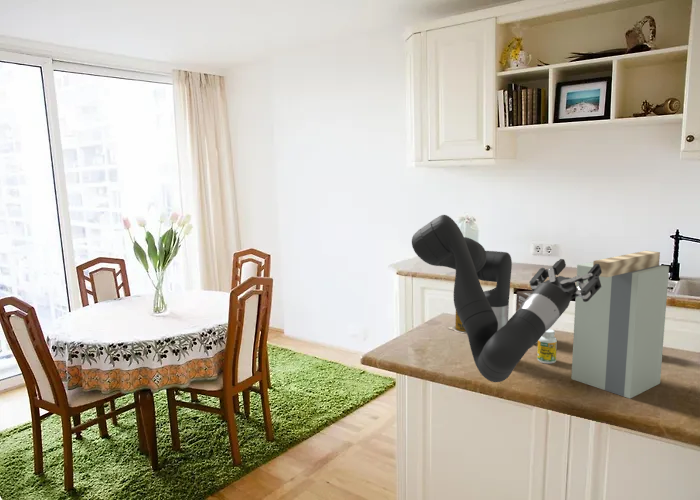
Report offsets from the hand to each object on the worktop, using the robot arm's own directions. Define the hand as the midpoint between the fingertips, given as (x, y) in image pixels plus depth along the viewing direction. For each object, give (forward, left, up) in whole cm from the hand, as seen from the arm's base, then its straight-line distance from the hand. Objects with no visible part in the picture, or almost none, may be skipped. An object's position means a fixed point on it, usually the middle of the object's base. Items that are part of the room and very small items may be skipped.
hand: (580, 264), depth 119 cm
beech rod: (+16, +14, -4) cm, 22 cm away
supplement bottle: (+4, +35, -36) cm, 50 cm away
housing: (+18, +20, -36) cm, 45 cm away
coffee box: (+4, +56, -36) cm, 67 cm away
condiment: (-17, +67, -36) cm, 78 cm away
